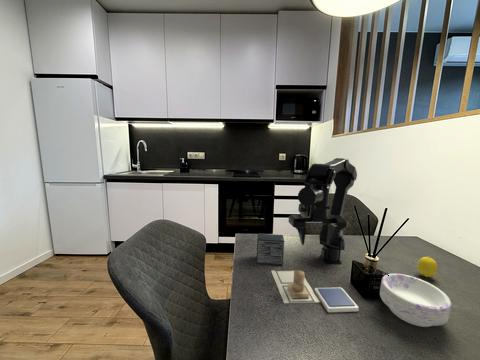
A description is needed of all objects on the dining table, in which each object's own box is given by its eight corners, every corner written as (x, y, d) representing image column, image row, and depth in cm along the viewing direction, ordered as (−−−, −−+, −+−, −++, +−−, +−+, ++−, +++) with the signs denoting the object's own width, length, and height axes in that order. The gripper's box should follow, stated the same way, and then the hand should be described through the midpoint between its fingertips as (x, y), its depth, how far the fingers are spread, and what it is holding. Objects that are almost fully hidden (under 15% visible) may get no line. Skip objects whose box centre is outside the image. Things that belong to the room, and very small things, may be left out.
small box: (281, 258, 91) (283, 234, 89) (283, 266, 84) (284, 240, 83) (256, 256, 92) (257, 232, 90) (256, 264, 85) (257, 238, 84)
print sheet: (299, 270, 82) (299, 269, 81) (320, 302, 65) (320, 301, 65) (271, 271, 81) (271, 270, 81) (284, 303, 64) (284, 302, 64)
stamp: (302, 288, 71) (304, 268, 70) (308, 298, 66) (310, 277, 65) (287, 288, 70) (289, 268, 69) (292, 299, 66) (294, 277, 64)
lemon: (432, 275, 82) (435, 255, 80) (438, 283, 77) (441, 262, 75) (413, 271, 84) (417, 251, 83) (418, 278, 79) (421, 258, 78)
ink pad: (341, 290, 71) (341, 286, 70) (358, 311, 62) (358, 306, 61) (314, 291, 70) (314, 287, 70) (328, 312, 61) (328, 307, 61)
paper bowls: (429, 346, 51) (435, 316, 50) (367, 304, 65) (370, 280, 64) (457, 324, 58) (462, 297, 57) (395, 290, 72) (399, 268, 70)
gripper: (333, 196, 82) (329, 235, 84) (285, 195, 80) (282, 235, 83) (350, 203, 71) (345, 248, 73) (295, 203, 69) (292, 248, 72)
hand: (315, 244), depth 76 cm, fingers open, 9 cm apart
